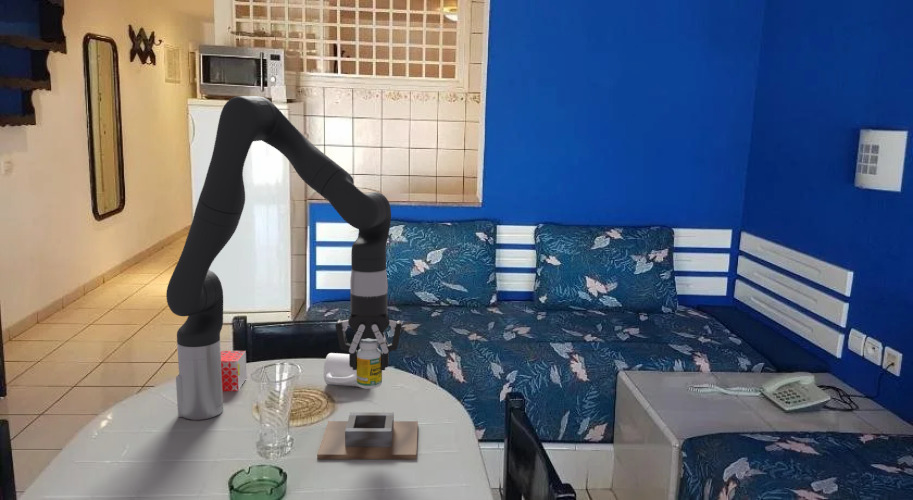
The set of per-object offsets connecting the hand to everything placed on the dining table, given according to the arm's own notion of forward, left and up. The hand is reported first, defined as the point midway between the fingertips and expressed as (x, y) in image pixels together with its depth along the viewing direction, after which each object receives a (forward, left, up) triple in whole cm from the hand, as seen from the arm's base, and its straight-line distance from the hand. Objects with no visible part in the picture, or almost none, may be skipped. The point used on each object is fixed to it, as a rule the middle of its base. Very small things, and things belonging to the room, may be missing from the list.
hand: (369, 368), depth 151 cm
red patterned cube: (-39, +32, -17) cm, 53 cm away
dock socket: (0, 0, -16) cm, 16 cm away
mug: (-9, +31, -17) cm, 36 cm away
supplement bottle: (0, 0, -4) cm, 4 cm away
